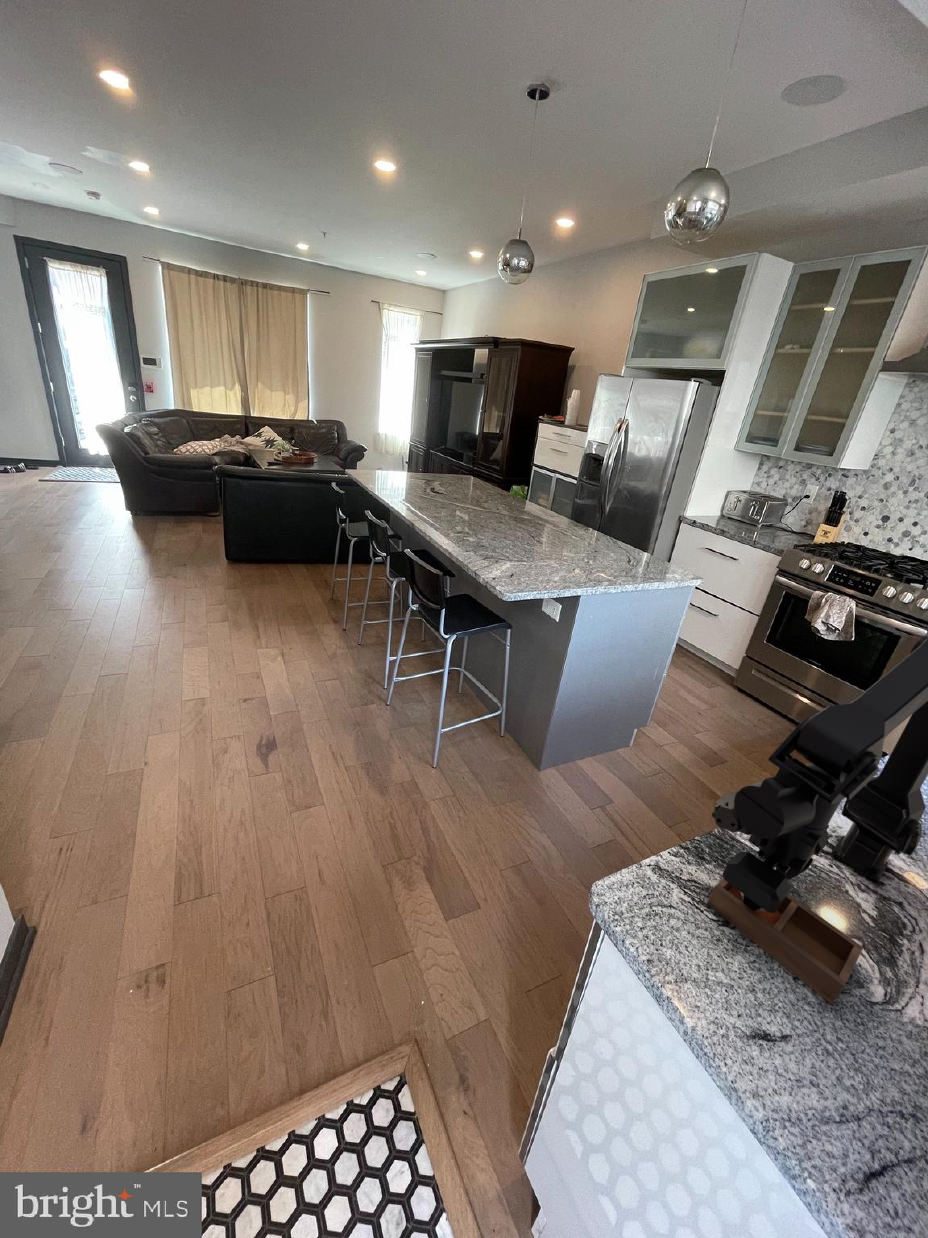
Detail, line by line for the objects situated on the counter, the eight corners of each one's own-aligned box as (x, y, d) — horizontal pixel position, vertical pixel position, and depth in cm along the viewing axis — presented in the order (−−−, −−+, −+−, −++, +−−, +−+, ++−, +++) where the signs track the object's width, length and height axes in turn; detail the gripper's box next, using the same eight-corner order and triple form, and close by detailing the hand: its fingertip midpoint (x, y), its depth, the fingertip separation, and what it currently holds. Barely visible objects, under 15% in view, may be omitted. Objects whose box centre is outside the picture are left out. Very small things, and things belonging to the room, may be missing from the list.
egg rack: (731, 876, 75) (740, 859, 73) (851, 965, 64) (863, 947, 63) (706, 904, 70) (714, 886, 68) (831, 1005, 59) (844, 986, 58)
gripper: (763, 751, 74) (727, 832, 80) (703, 799, 62) (666, 888, 68) (851, 799, 66) (803, 884, 72) (801, 863, 55) (749, 958, 61)
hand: (754, 900), depth 68 cm, fingers closed on egg, 4 cm apart
